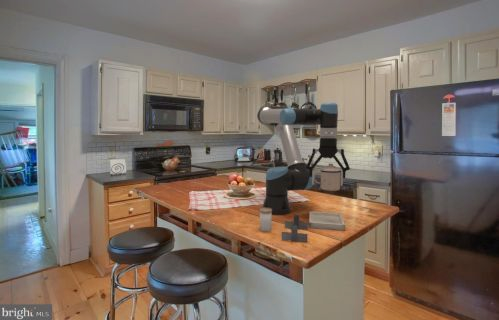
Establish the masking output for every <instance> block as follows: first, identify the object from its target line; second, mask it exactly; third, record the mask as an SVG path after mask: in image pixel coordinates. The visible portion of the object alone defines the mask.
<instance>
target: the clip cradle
mask: <svg viewBox="0 0 499 320" xmlns="http://www.w3.org/2000/svg"><path fill="white" fill-rule="evenodd" d="M284 229H290V231H291V232H288V231H281V234H280V235H281V239H282V240H281V241H288V240H291V242H300V241H302V242H301V243H308V235H309V234H308V233H300V232H299V231H298V230H304V229H305V230H307V231H308V230H309V221H308V222H305V221H300V214H293V221H292V220H289V221H288V220H285V221H284Z"/></svg>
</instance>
